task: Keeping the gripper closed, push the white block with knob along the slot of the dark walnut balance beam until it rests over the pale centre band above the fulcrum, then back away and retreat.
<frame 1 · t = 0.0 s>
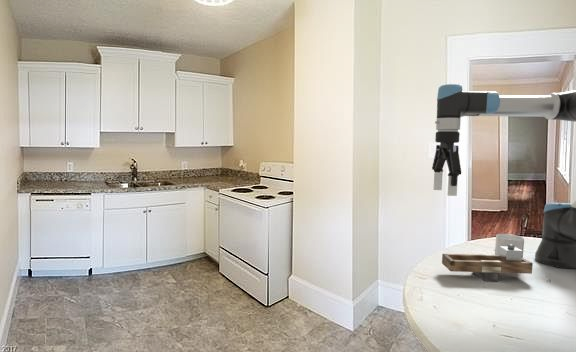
hand: (444, 192, 129), 28 cm above the table, fingers open, 13 cm apart
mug: (509, 265, 138), on the table
white block with knob: (510, 254, 125), point 8 cm above the table, slide at -8.0 cm
beam: (484, 276, 126), on the table
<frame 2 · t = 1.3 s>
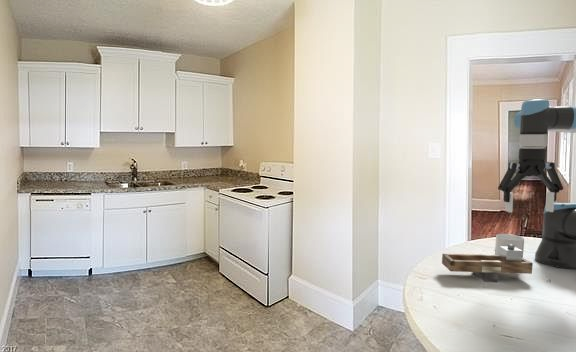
hand: (529, 211, 124), 23 cm above the table, fingers open, 13 cm apart
nothing on the table moved.
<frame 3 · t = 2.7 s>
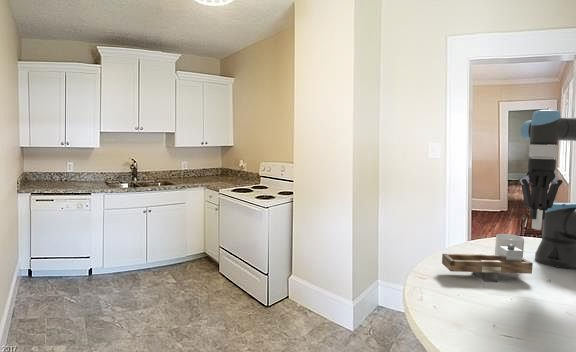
hand: (536, 228, 123), 17 cm above the table, fingers closed
nothing on the table moved.
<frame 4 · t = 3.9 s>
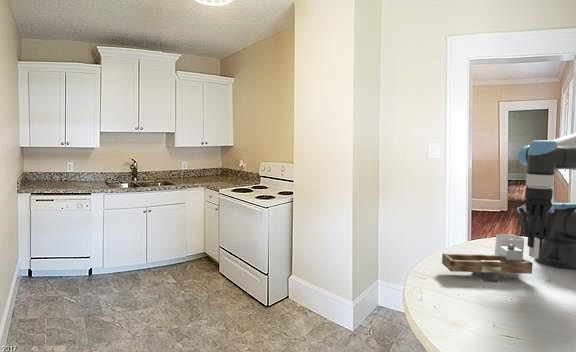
hand: (533, 256, 124), 7 cm above the table, fingers closed
nothing on the table moved.
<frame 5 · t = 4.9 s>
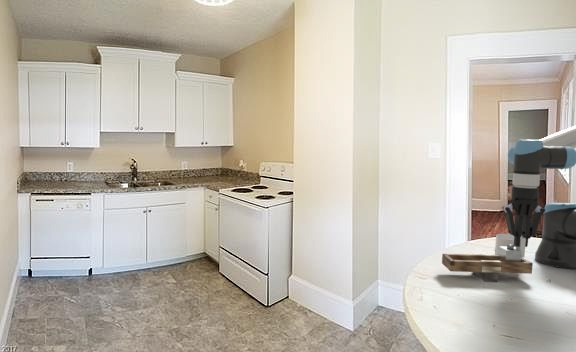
hand: (519, 256, 125), 8 cm above the table, fingers closed
white block with knob: (509, 254, 125), point 8 cm above the table, slide at -7.8 cm, touching gripper
everything else where it was.
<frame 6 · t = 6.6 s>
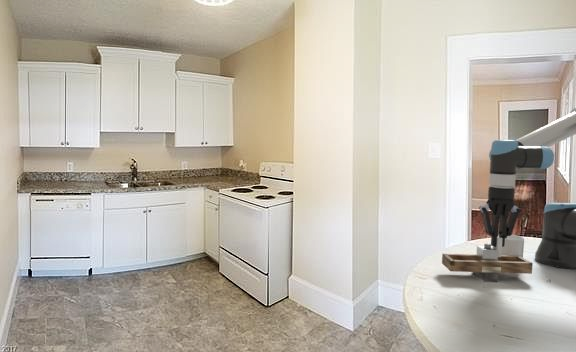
hand: (496, 255, 125), 7 cm above the table, fingers closed
white block with knob: (487, 253, 125), point 8 cm above the table, slide at -0.3 cm, touching gripper
everything else where it was.
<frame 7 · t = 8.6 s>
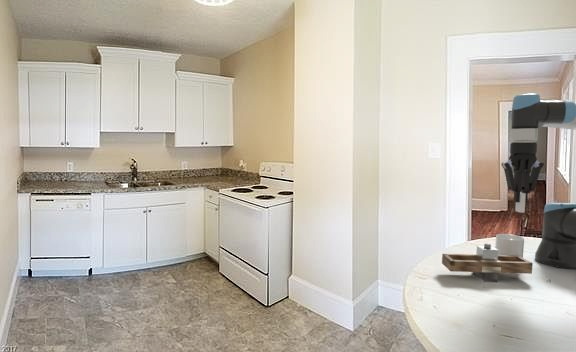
hand: (519, 211, 125), 22 cm above the table, fingers closed
white block with knob: (487, 253, 125), point 8 cm above the table, slide at -0.3 cm
everything else where it was.
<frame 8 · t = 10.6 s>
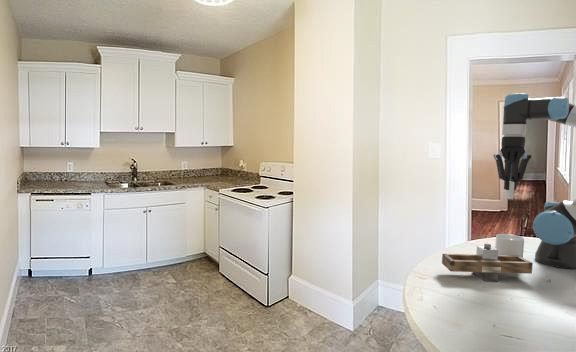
hand: (509, 198, 141), 24 cm above the table, fingers closed
nothing on the table moved.
at the end: white block with knob slide at -0.3 cm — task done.
